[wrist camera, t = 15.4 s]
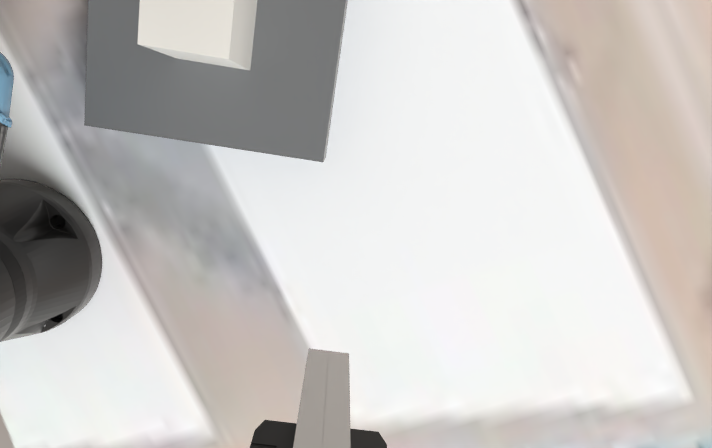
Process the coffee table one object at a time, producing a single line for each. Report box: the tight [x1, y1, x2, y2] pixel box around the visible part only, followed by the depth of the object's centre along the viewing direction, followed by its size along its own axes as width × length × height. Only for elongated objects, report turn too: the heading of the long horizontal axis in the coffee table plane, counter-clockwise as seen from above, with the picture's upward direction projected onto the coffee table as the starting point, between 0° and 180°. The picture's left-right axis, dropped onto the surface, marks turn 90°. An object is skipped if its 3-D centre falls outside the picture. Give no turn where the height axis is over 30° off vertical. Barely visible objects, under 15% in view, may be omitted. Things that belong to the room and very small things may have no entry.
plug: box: [137, 0, 257, 70], centre depth 35 cm, size 6×9×10 cm
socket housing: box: [84, 0, 348, 162], centre depth 39 cm, size 20×20×5 cm
